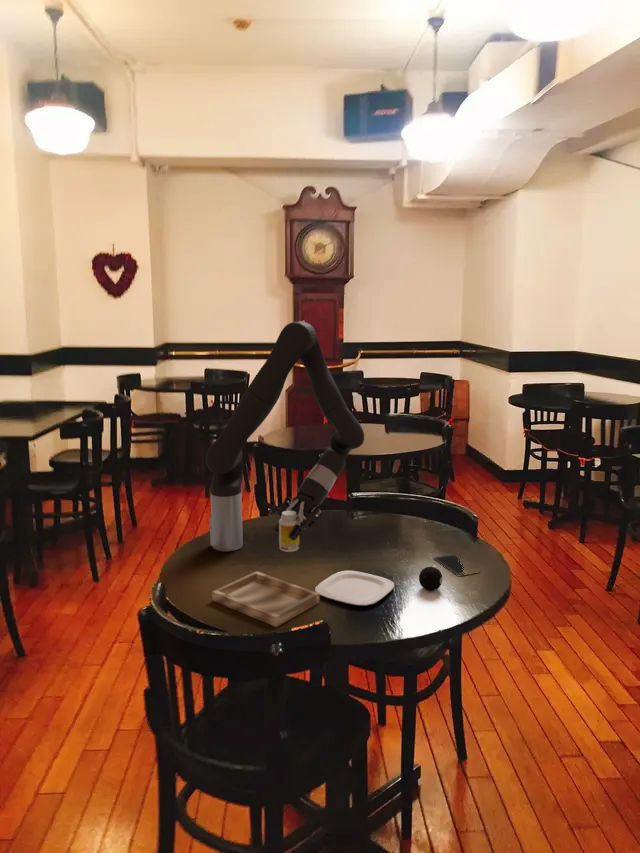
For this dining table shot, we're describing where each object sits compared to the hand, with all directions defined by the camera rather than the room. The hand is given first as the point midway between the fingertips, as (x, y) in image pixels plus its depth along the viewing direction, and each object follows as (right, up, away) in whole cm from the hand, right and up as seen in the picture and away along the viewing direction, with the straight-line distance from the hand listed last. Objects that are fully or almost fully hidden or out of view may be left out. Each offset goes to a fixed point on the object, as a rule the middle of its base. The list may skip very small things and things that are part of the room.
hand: (284, 535), depth 182 cm
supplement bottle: (+1, -4, +2) cm, 5 cm away
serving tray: (-4, -15, -11) cm, 19 cm away
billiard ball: (+39, -14, -5) cm, 41 cm away
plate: (+19, -14, -5) cm, 24 cm away
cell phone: (+48, -11, +10) cm, 51 cm away
